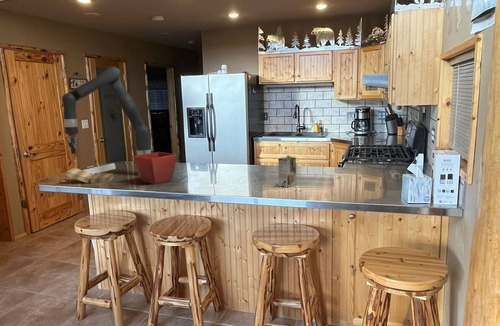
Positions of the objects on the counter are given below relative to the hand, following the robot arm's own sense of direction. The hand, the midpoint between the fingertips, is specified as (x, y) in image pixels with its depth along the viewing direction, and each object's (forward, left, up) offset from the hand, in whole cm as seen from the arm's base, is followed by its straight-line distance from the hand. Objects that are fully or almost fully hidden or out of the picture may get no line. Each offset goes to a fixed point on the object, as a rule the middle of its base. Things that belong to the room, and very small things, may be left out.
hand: (73, 153), depth 230 cm
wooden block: (-16, 0, -18) cm, 24 cm away
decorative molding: (-2, -32, -19) cm, 38 cm away
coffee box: (-127, +44, -19) cm, 136 cm away
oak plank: (-2, 0, -15) cm, 15 cm away
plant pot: (-51, +12, -19) cm, 56 cm away
